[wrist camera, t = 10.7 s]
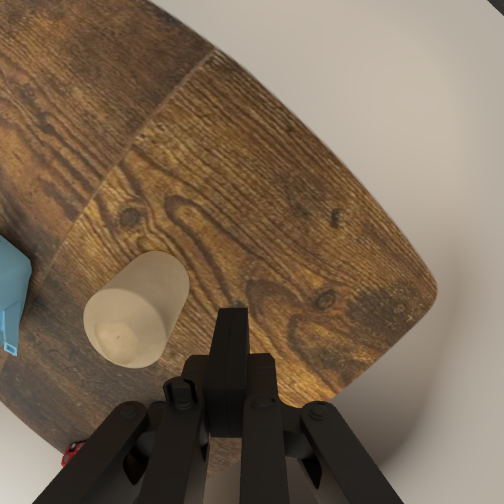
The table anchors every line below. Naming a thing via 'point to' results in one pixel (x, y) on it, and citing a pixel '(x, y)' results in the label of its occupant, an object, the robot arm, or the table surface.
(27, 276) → the teapot
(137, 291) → the candle
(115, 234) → the table surface
